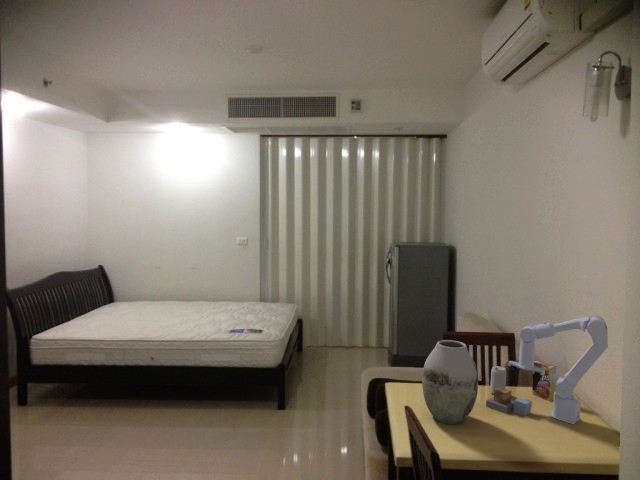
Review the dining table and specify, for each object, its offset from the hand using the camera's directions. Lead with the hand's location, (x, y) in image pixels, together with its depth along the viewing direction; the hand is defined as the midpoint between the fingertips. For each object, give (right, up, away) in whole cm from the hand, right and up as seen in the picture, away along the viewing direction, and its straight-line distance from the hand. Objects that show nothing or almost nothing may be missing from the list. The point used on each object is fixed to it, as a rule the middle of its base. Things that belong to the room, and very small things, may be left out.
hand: (525, 386), depth 196 cm
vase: (-35, -9, -10) cm, 38 cm away
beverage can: (-5, -9, +16) cm, 19 cm away
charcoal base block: (-9, -10, +2) cm, 14 cm away
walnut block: (-9, -7, +1) cm, 11 cm away
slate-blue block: (-3, -10, -3) cm, 10 cm away
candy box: (+14, -9, +14) cm, 22 cm away
